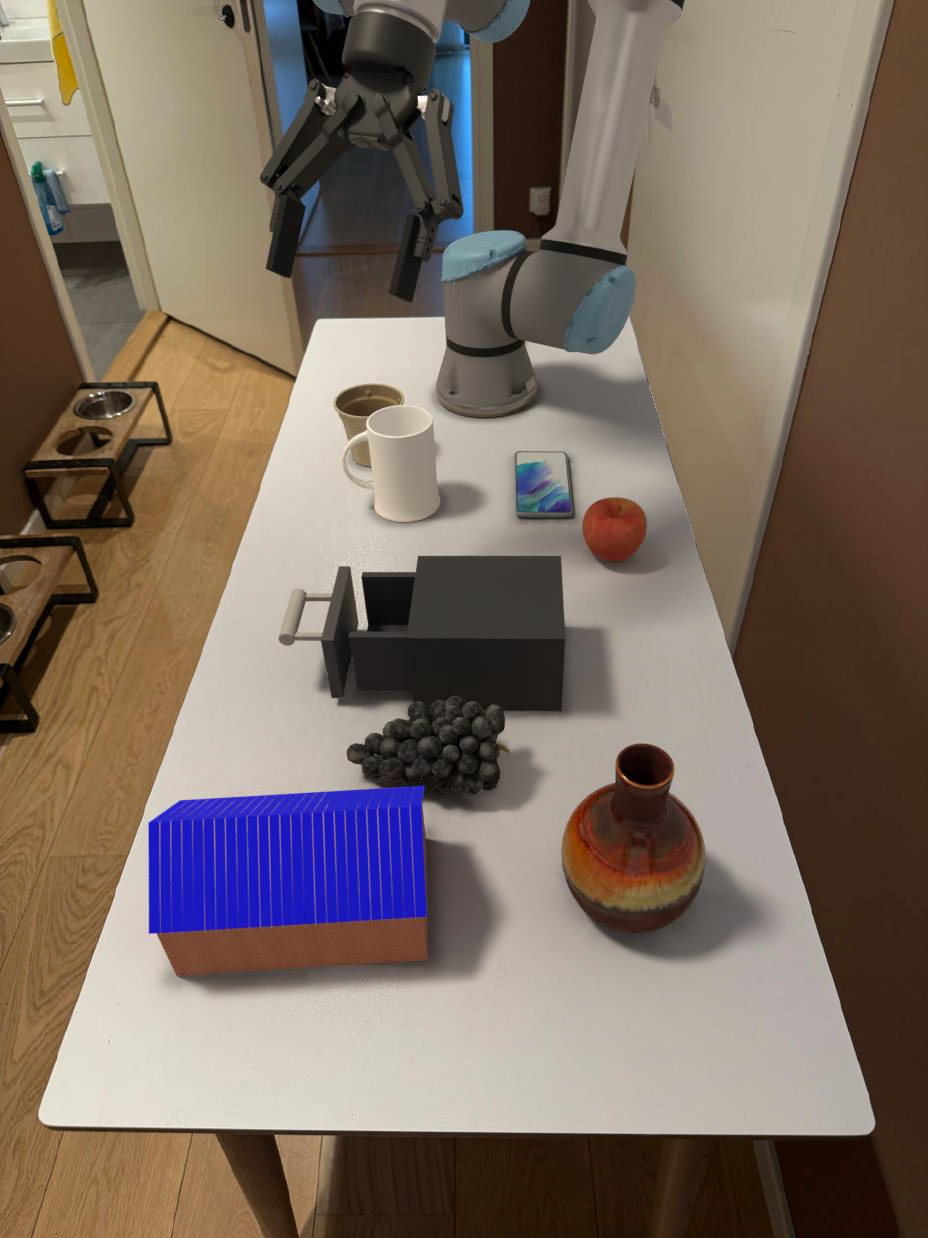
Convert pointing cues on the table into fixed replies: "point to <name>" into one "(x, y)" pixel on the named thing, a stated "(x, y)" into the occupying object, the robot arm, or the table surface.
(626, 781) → the vase
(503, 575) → the cabinet
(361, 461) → the flower pot
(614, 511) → the apple
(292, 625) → the drawer
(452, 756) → the fruit
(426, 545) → the table surface
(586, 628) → the table surface
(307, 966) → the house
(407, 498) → the mug
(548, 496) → the smartphone
